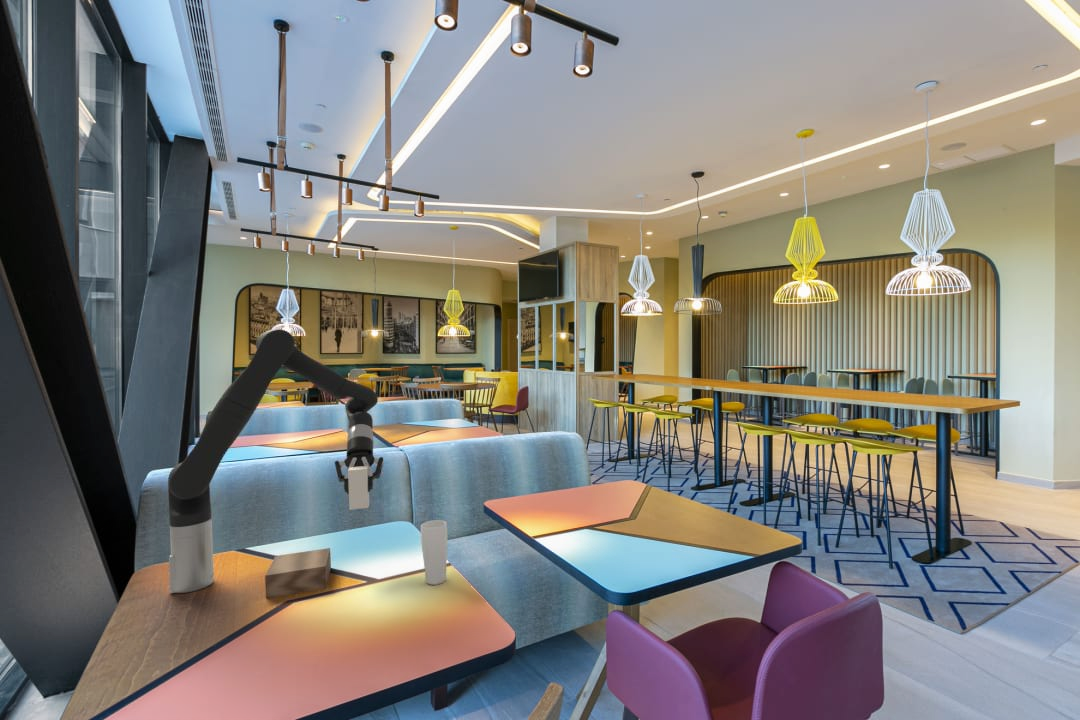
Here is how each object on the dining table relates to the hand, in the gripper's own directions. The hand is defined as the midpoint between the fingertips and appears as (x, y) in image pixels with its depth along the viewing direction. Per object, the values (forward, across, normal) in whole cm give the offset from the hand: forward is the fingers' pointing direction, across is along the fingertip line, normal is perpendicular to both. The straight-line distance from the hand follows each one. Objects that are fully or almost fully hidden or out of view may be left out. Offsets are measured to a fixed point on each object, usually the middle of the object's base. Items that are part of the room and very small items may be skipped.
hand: (358, 491), depth 141 cm
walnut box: (+18, -15, +14) cm, 27 cm away
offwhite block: (+2, 0, +5) cm, 5 cm away
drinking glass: (+27, +20, +4) cm, 34 cm away
